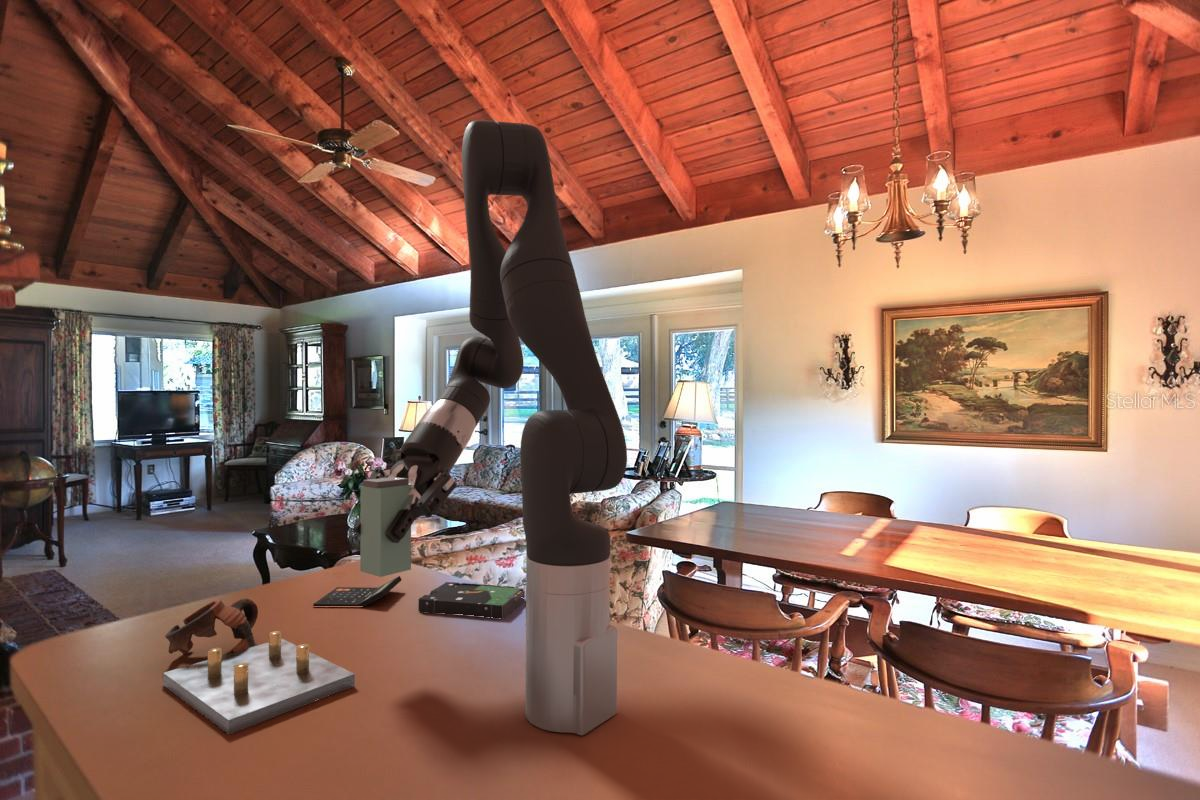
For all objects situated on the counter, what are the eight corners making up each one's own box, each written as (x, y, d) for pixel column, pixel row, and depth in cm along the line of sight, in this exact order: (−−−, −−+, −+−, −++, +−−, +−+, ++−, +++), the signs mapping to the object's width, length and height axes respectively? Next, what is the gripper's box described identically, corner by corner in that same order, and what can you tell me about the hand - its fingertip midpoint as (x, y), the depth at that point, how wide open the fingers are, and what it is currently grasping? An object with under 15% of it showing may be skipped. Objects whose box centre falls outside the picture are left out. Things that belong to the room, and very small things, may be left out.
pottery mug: (232, 676, 79) (194, 623, 78) (178, 701, 82) (139, 650, 80) (289, 620, 91) (256, 573, 90) (240, 643, 93) (207, 597, 92)
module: (411, 569, 83) (411, 479, 83) (380, 577, 79) (380, 482, 79) (391, 564, 85) (391, 476, 85) (359, 571, 82) (360, 479, 82)
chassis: (354, 686, 76) (354, 648, 76) (228, 734, 64) (228, 690, 64) (281, 649, 87) (281, 616, 87) (163, 685, 75) (163, 647, 76)
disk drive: (417, 616, 102) (504, 622, 99) (417, 599, 102) (504, 604, 99) (445, 597, 112) (525, 601, 109) (445, 581, 112) (525, 585, 109)
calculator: (337, 592, 114) (337, 575, 114) (401, 592, 114) (401, 575, 114) (313, 609, 104) (313, 590, 104) (383, 609, 104) (383, 591, 104)
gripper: (389, 419, 92) (318, 514, 82) (467, 420, 86) (400, 524, 75) (415, 453, 97) (351, 547, 86) (491, 457, 90) (431, 560, 80)
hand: (374, 536), depth 81 cm, fingers closed on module, 5 cm apart
